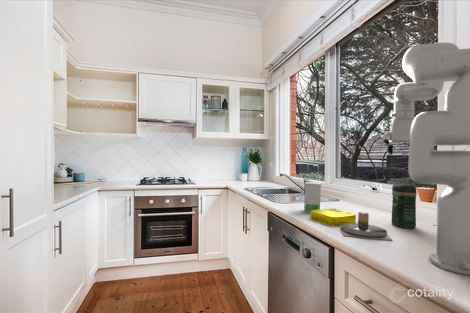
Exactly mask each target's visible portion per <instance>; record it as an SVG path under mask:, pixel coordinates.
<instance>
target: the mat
mask: <svg viewBox="0 0 470 313" xmlns="http://www.w3.org/2000/svg"><path fill="white" fill-rule="evenodd" d="M338 227H339V228H340V231H341V234H342V235H343V237H349V238H358V239H359V238H360V239H369V240H380V241H388V242H390V241H391V242H393V239H392V238H391V236H389V234H387V236H385V237H382V238H368V237H360V236H355V235H351V234H348V233H346V232H344V231H342V230H341V224H339V225H338Z"/></svg>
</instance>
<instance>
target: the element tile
mask: <svg viewBox="0 0 470 313" xmlns="http://www.w3.org/2000/svg"><path fill="white" fill-rule="evenodd" d="M310 219H311V220H313V221H316V222H320V223H321V224H325V225H328V226H331V227H332V226H334V227H337V226H338V227H339V224H341V225H342V224H345V223H357V217H356V214H355V213H353V212H349V211H345V210H340V209H338V208H334V207H333V208H332V207H331V208H320V209H319V210H311V212H310Z"/></svg>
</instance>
